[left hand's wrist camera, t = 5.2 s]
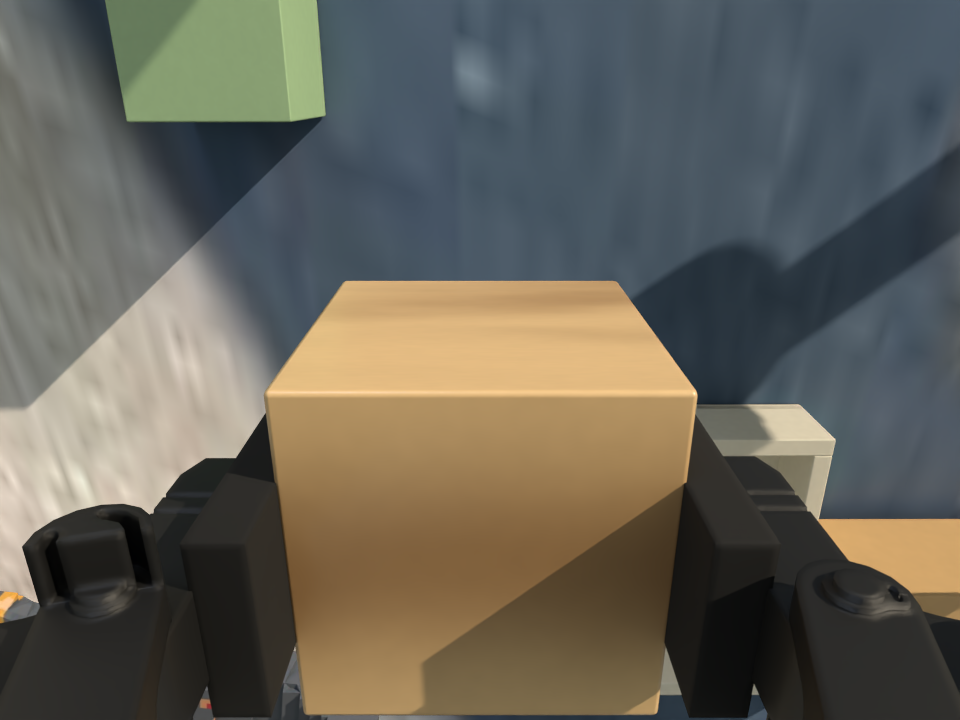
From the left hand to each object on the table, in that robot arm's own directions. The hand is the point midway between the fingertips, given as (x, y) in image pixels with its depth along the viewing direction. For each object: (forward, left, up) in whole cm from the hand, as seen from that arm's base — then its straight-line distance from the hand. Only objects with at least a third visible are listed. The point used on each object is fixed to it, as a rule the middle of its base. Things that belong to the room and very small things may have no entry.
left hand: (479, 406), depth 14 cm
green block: (-8, -9, -17) cm, 20 cm away
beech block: (0, 0, 0) cm, 0 cm away
